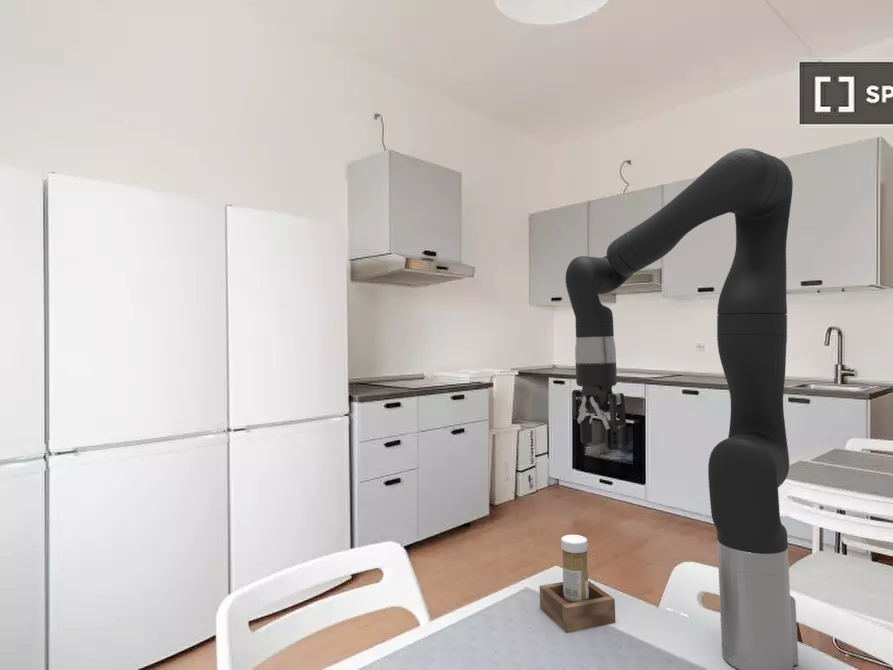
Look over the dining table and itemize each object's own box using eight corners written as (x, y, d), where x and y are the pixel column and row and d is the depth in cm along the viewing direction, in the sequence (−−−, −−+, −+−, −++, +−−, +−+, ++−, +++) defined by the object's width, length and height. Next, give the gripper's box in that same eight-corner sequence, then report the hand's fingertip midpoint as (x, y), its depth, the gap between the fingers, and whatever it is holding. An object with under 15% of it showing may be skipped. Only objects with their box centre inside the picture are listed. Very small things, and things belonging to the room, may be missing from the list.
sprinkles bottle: (595, 616, 97) (593, 538, 98) (577, 624, 95) (574, 544, 95) (575, 606, 101) (573, 532, 101) (557, 613, 99) (555, 537, 99)
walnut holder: (585, 599, 104) (584, 577, 104) (615, 622, 95) (614, 598, 95) (540, 608, 101) (539, 585, 101) (566, 632, 92) (565, 608, 92)
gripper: (635, 360, 101) (639, 450, 101) (591, 360, 115) (594, 439, 114) (599, 362, 99) (603, 454, 98) (559, 361, 112) (562, 442, 112)
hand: (598, 446), depth 106 cm, fingers open, 8 cm apart
